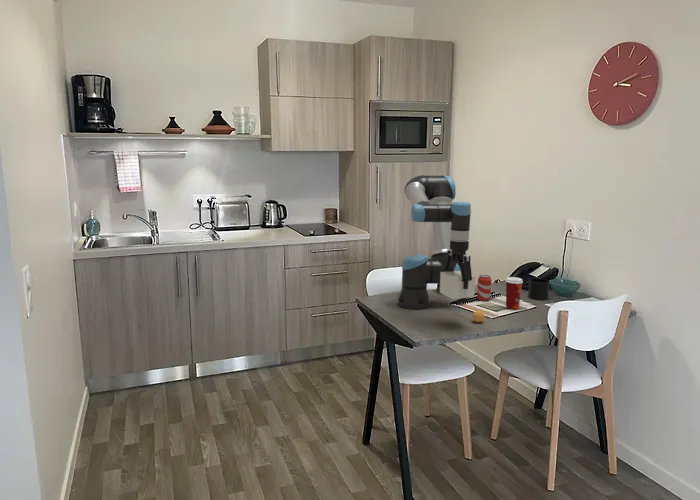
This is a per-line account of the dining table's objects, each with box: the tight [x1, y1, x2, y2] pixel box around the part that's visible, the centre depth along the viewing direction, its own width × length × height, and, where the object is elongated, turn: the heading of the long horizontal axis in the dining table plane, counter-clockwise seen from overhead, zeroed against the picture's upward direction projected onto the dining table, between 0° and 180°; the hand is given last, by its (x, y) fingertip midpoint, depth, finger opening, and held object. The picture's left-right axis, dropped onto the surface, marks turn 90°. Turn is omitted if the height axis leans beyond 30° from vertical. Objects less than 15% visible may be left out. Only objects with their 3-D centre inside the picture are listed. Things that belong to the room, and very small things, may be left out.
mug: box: [527, 277, 550, 301], centre depth 263 cm, size 9×12×9 cm
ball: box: [472, 310, 485, 323], centre depth 224 cm, size 5×5×5 cm
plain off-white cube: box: [439, 271, 476, 300], centre depth 217 cm, size 10×10×9 cm
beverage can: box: [476, 274, 492, 302], centre depth 257 cm, size 6×6×12 cm
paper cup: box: [505, 276, 524, 311], centre depth 244 cm, size 8×8×14 cm
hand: (456, 292), depth 218 cm, fingers closed on plain off-white cube, 10 cm apart
